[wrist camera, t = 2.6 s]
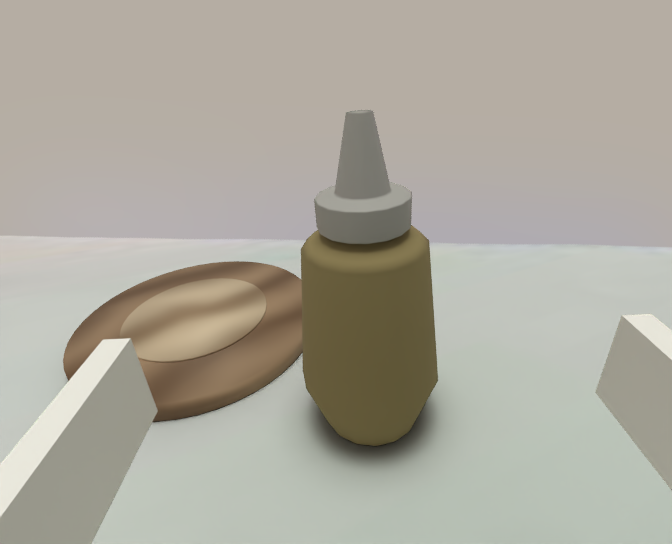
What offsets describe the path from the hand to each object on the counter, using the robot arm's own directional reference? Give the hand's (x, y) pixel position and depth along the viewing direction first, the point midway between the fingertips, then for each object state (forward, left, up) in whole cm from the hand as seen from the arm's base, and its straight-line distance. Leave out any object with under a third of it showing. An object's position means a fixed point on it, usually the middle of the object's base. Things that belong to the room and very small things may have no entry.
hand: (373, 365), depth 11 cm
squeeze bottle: (+7, -7, -13) cm, 16 cm away
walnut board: (+24, -4, -13) cm, 27 cm away
